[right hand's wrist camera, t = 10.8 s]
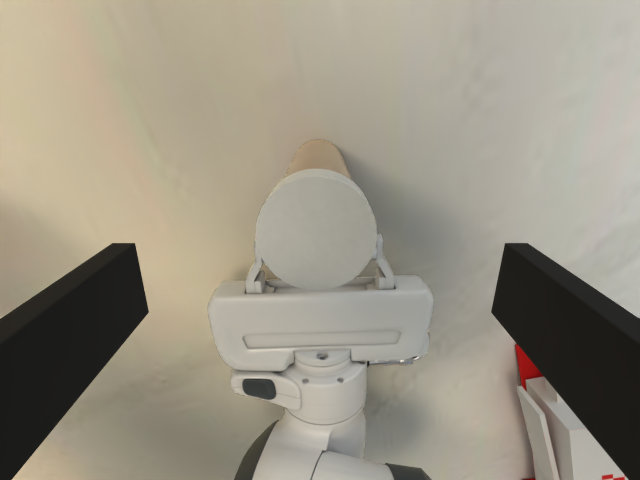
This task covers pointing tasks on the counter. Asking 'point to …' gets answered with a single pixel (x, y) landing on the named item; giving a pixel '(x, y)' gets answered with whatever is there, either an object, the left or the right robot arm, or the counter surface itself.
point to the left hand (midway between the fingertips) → (318, 237)
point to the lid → (316, 230)
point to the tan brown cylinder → (318, 158)
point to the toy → (558, 433)
